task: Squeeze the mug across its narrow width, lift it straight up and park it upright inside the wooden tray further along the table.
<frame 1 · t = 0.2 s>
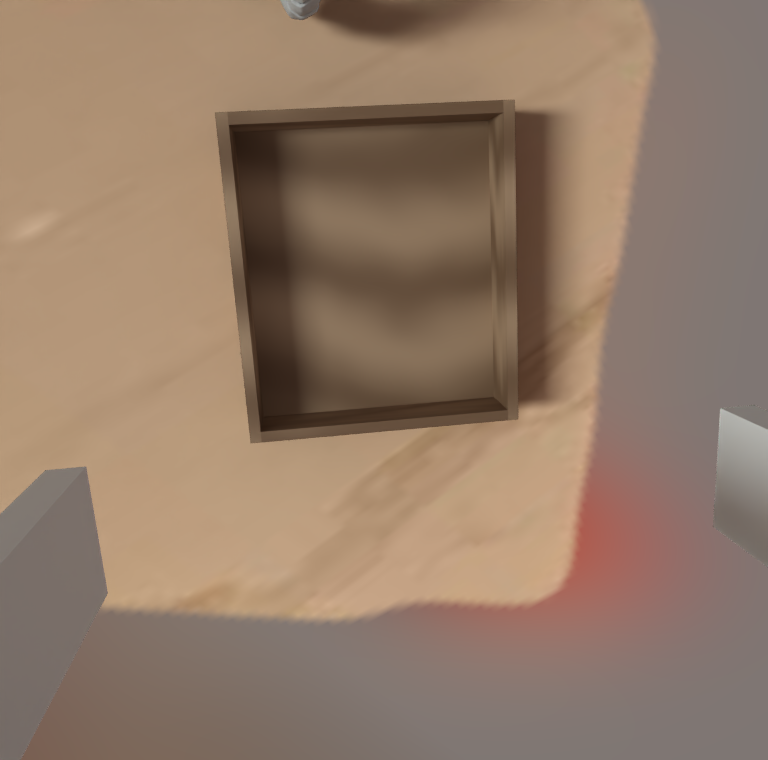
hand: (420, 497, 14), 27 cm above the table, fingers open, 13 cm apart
wooden tray: (371, 272, 40), on the table
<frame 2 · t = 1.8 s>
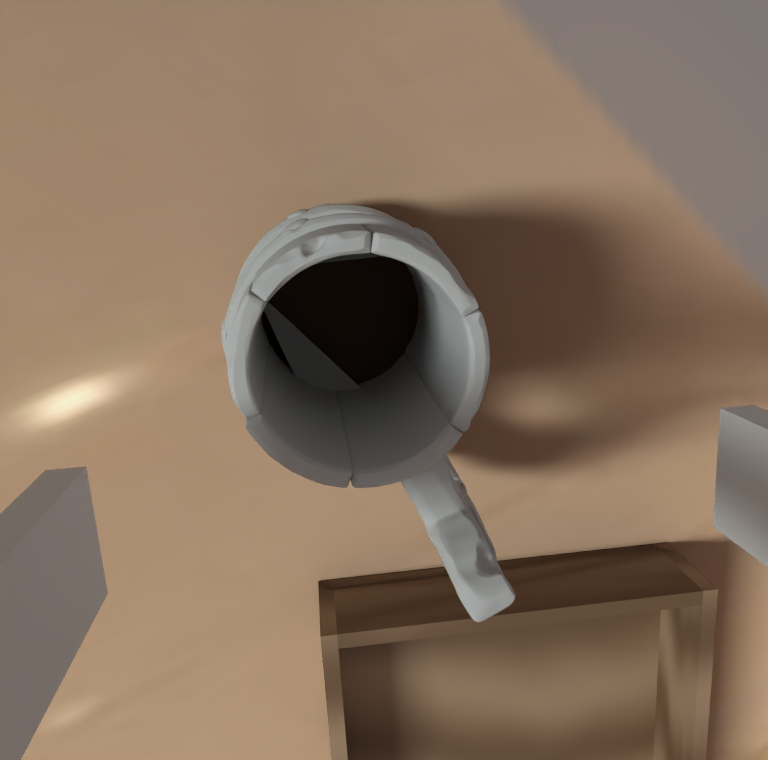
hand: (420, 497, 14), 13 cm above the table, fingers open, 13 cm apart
wooden tray: (500, 731, 31), on the table
mug: (365, 353, 26), on the table
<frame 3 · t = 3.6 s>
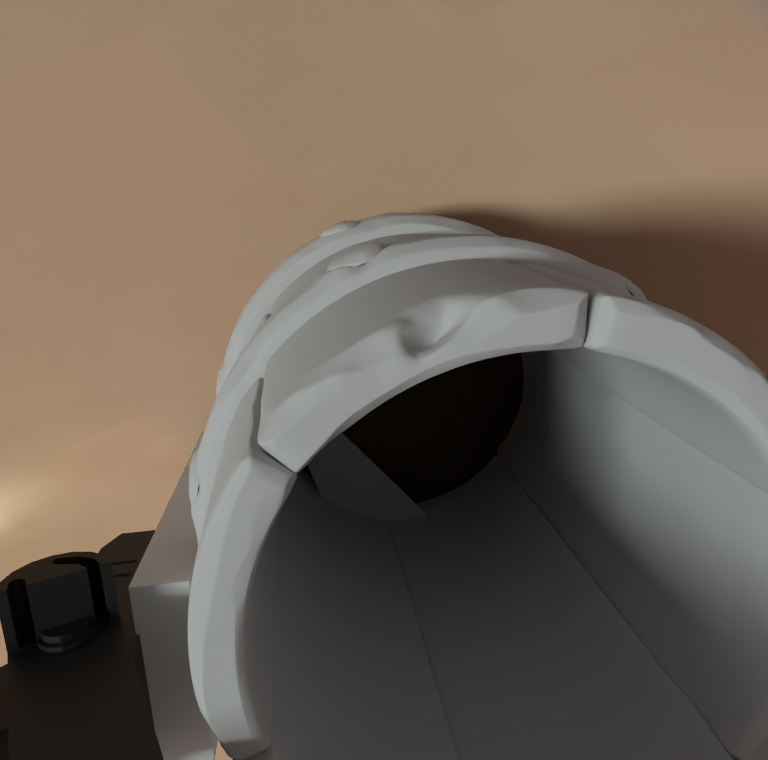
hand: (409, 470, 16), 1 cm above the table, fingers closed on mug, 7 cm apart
mug: (433, 453, 17), on the table, touching gripper
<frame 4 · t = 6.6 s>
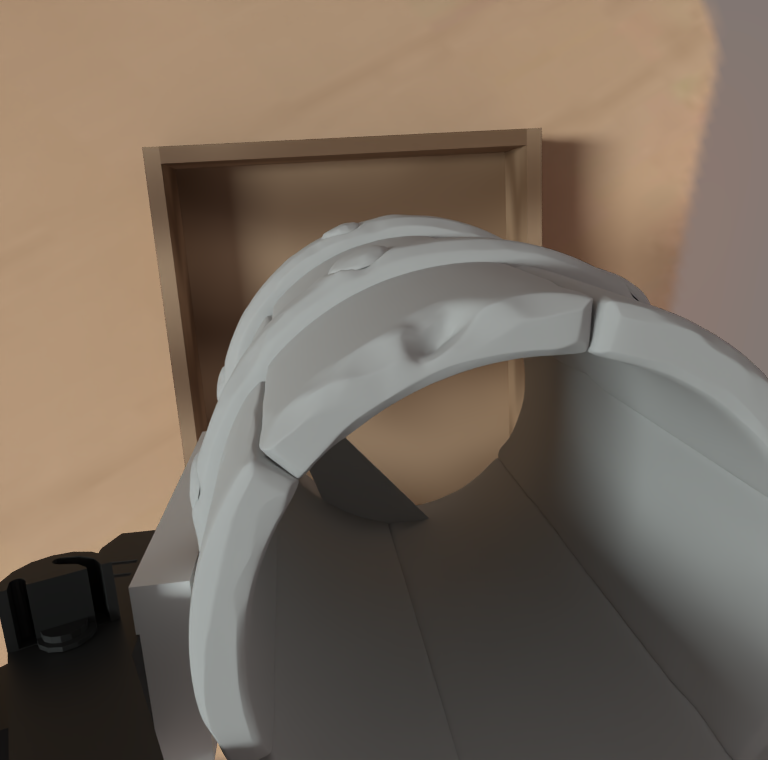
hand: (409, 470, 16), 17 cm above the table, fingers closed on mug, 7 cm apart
wooden tray: (355, 342, 32), on the table
mug: (434, 456, 16), point 16 cm above the table, touching gripper
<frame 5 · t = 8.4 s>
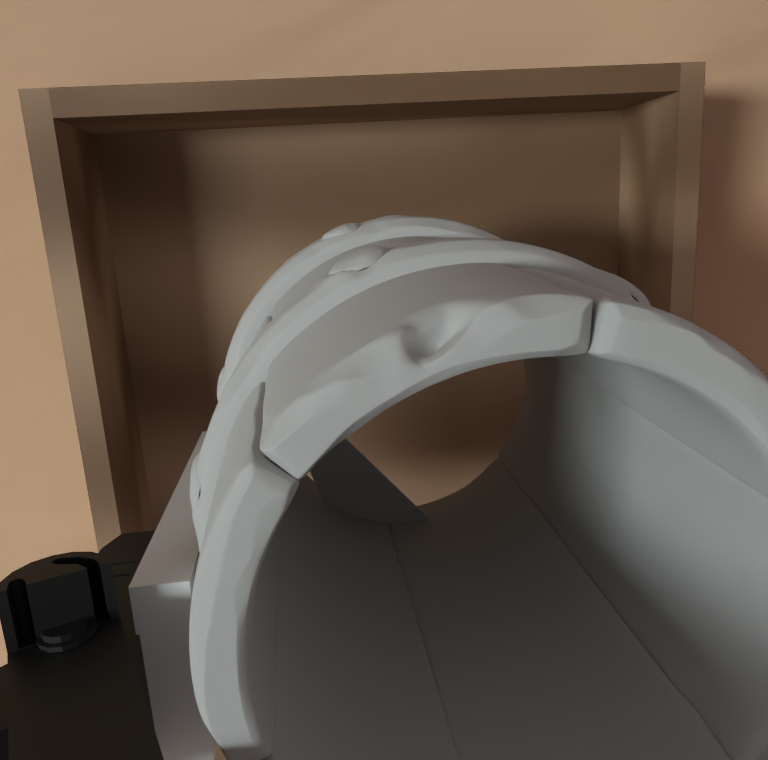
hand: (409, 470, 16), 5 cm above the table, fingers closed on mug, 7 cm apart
wooden tray: (382, 404, 21), on the table
mug: (434, 456, 16), point 5 cm above the table, touching gripper
when the fingers open (4 cm above the table, at t = 9.7 s): mug drops 2 cm, resting on wooden tray.
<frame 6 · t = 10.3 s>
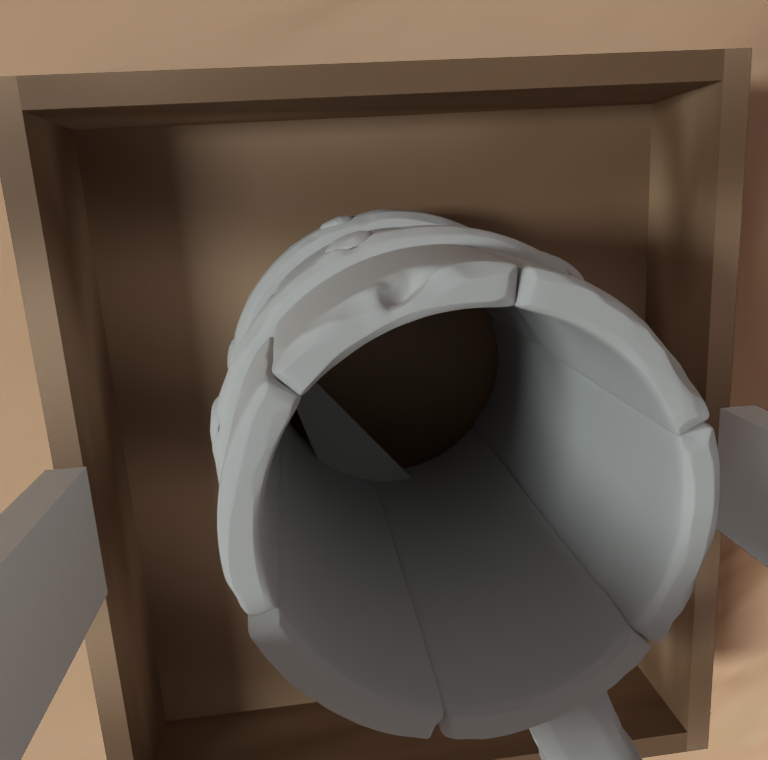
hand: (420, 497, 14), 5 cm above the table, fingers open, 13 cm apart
wooden tray: (389, 424, 19), on the table
mug: (417, 425, 19), point 1 cm above the table, touching wooden tray
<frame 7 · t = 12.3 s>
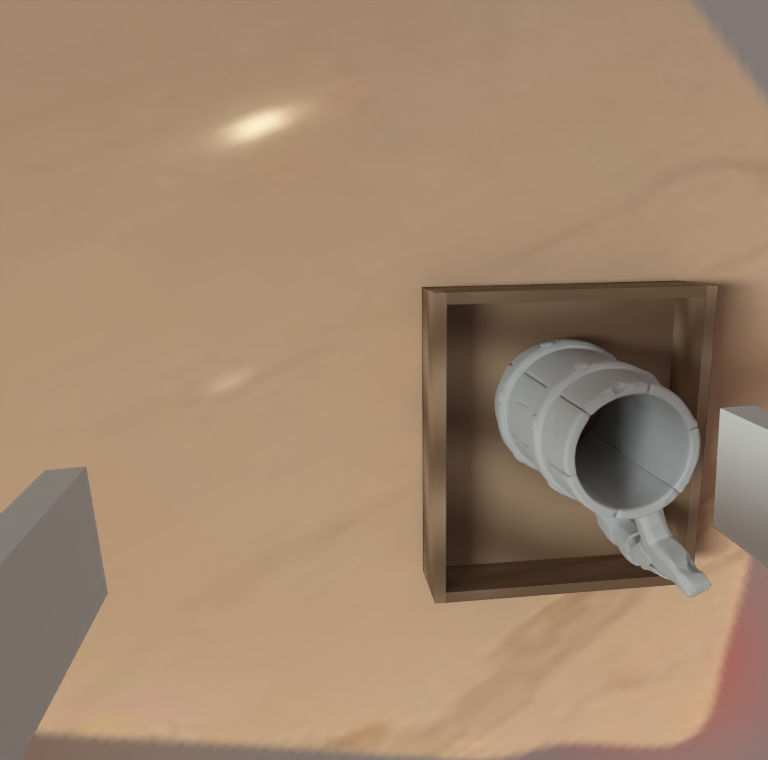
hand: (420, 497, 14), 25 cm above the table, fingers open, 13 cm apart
wooden tray: (548, 429, 41), on the table
mug: (563, 430, 40), point 1 cm above the table, touching wooden tray
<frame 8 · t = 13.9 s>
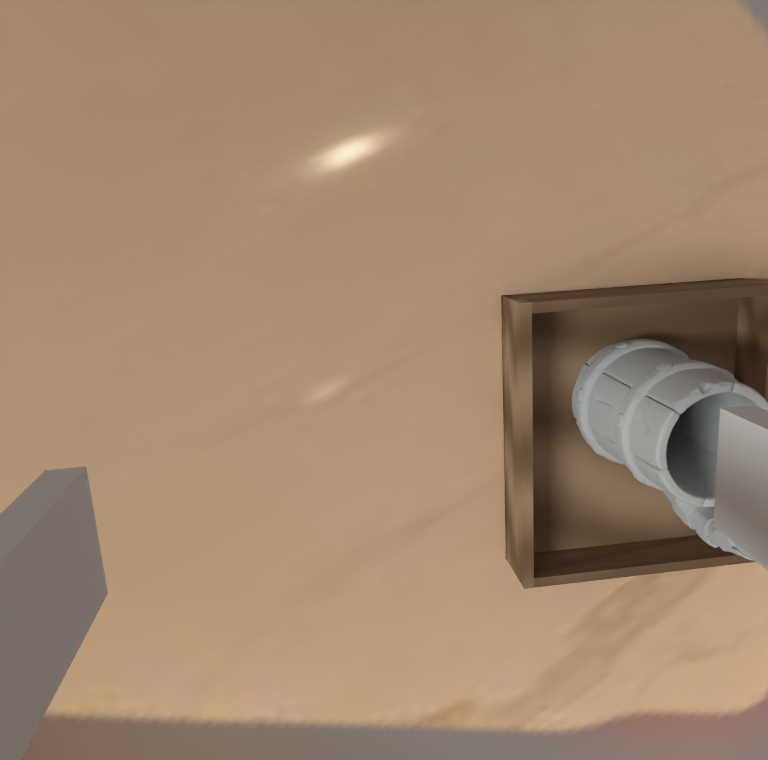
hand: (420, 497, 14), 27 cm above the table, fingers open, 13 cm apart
wooden tray: (620, 422, 43), on the table
mug: (635, 422, 43), point 1 cm above the table, touching wooden tray
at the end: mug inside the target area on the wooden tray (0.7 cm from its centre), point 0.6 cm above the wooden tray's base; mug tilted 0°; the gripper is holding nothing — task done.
